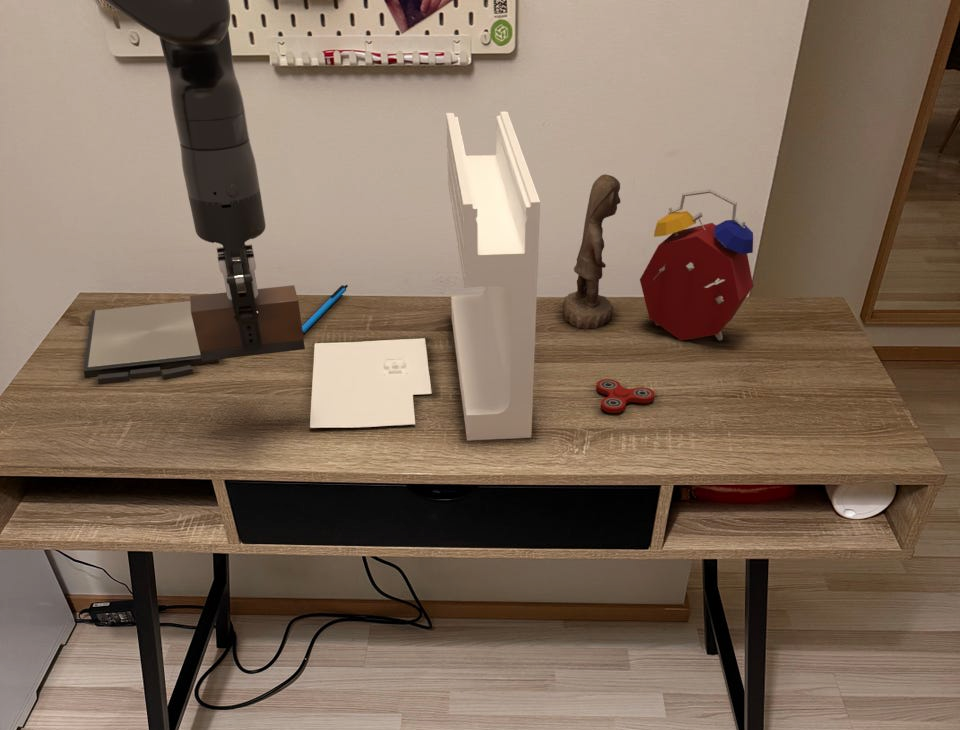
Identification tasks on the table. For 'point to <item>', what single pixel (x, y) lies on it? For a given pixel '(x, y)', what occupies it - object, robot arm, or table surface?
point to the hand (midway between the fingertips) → (251, 339)
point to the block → (495, 282)
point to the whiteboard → (142, 339)
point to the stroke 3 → (177, 372)
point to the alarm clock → (697, 273)
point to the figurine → (592, 259)
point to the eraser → (223, 333)
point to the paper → (368, 382)
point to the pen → (324, 308)
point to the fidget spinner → (621, 395)
